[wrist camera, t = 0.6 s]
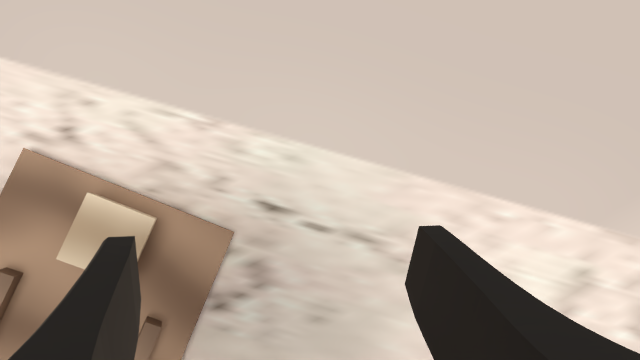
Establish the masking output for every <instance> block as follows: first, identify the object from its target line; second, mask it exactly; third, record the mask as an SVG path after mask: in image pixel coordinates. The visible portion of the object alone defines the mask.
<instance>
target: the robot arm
mask: <svg viewBox="0 0 640 360" xmlns="http://www.w3.org/2000/svg"><path fill="white" fill-rule="evenodd" d="M405 286H406V289H407V293H408V297H409V300H410V303H411V307H412V310H413V313H414V316H415V319H416V321H417V323H418V326H419V328H420V330H421V332H422V335H423V337H424V339H425V341H426V343H427V346H428V348H429V350H430V352H431V354H432V356H433V359H434V360H640V354H639V353H637V352H634V351H632V350H630V349H628V348H626V347H623V346H621V345H619V344H617V343H615V342H613V341H611V340H609V339H607V338H605V337H603V336H601V335H599V334H597V333H595V332H593V331H591V330H589V329H587V328H585V327H583V326H582V325H580V324H578V323H576V322H574V321H573V320H571V319H569V318H568V317H566V316H564V315H563V314H561V313H559V312H558V311H556V310H554V309H553V308H551V307H549V306H548V305H546V304H545V303H543V302H541V301H540V300H538V299H537V298H535V297H534V296H532V295H531V294H530V293H528V292H527V291H525V290H524V289H522V288H521V287H520V286H518V285H517V284H515V283H514V282H513V281H511V280H510V279H509V278H507V277H506V276H504V275H503V274H502V273H501V272H499V271H498V270H497V269H495V268H494V267H493V266H491V265H490V264H489V263H488V262H486V261H485V260H484V259H483V258H481V257H480V256H479V255H478V254H476V253H475V252H474V251H473V250H471V249H470V248H469V247H468V246H466V245H465V244H464V243H463V242H461V241H460V240H459V239H458V238H456V237H455V236H454V235H453V234H451V233H450V232H449V231H447V230H446V229H445V228H443V227H442V226H419V229H418V233H417V237H416V241H415V245H414V249H413V253H412V257H411V261H410V265H409V269H408V273H407V277H406V281H405ZM140 310H141V291H140V282H139V272H138V262H137V252H136V242H135V236H122V237H107V238H106V239H105V240H104V241H103V242H102V244H101V246H100V247H99V249H98V250H97V252H96V254H95V255H94V257H93V258H92V260H91V261H90V263H89V264H88V266H87V267H86V269H85V270H84V271H83V273H82V274H81V276H80V277H79V278H78V280H77V281H76V282H75V284H74V285H73V286H72V288H71V289H70V290H69V292H68V293H67V294H66V296H65V297H64V298H63V299H62V301H61V302H60V303H59V304H58V306H57V307H56V308H55V309H54V310H53V311H52V313H51V314H50V315H49V316H48V317H47V318H46V320H45V321H44V322H43V323H42V324H41V325H40V327H39V328H38V329H37V330H36V331H35V332H34V333H33V334H32V335H31V336H30V338H29V339H28V340H27V341H26V342H25V343H24V344H23V345H22V346H21V347H20V348H19V349H18V350H17V351H16V352H15V353H14V354H13V355H12V356H11V357H10V358H9V359H8V360H134V358H135V353H136V348H137V342H138V336H139V324H140Z"/></svg>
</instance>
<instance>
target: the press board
mask: <svg viewBox="0 0 640 360" xmlns="http://www.w3.org/2000/svg"><path fill="white" fill-rule="evenodd" d="M87 192H88V193H93V194H97V195H100V196H102V197H105V198H107V199H110V200H112V201H115V202H117V203H120V204H123V205H125V206H128V207H130V208H133V209H135V210H138V211H140V212H143V213H145V214H148V215H151V216H153V217H156V218H157V219H156V222H155V224H154V226H153V228H152V231H151V233H150V235H149V237H148V240H147V242H146V244H145V246H144V249H143V251H142V253H141V255H140V258H139V260H138V272H139V282H140V291H141V310H140V324H139V336H138V342H137V348H136V353H135V358H134V360H181V358H182V356H183V353H184V351H185V349H186V346H187V344H188V342H189V339H190V337H191V334H192V332H193V330H194V327H195V325H196V322H197V320H198V318H199V315H200V313H201V310H202V308H203V306H204V303H205V301H206V298H207V296H208V294H209V291H210V289H211V287H212V284H213V282H214V279H215V277H216V275H217V272H218V270H219V267H220V265H221V263H222V260H223V258H224V255H225V253H226V251H227V248H228V246H229V244H230V241H231V239H232V236H233V234H234V232H232V231H230V230H227V229H225V228H222V227H220V226H217V225H215V224H212V223H210V222H207V221H205V220H202V219H200V218H197V217H195V216H192V215H190V214H187V213H185V212H182V211H180V210H177V209H175V208H172V207H170V206H167V205H165V204H162V203H160V202H157V201H155V200H152V199H150V198H147V197H145V196H142V195H140V194H137V193H135V192H132V191H130V190H127V189H125V188H122V187H120V186H117V185H115V184H112V183H110V182H107V181H105V180H102V179H100V178H97V177H95V176H92V175H90V174H88V173H85V172H83V171H80V170H78V169H75V168H73V167H70V166H68V165H65V164H63V163H60V162H58V161H55V160H53V159H50V158H48V157H45V156H43V155H40V154H38V153H35V152H33V151H30V150H28V149H25V148H23V150H22V152H21V154H20V156H19V158H18V160H17V162H16V164H15V166H14V168H13V170H12V172H11V174H10V176H9V178H8V180H7V182H6V184H5V186H4V188H3V190H2V192H1V195H0V360H8V359H9V358H10V357H11V356H12V355H13V354H14V353H15V352H16V351H17V350H18V349H19V348H20V347H21V346H22V345H23V344H24V343H25V342H26V341H27V340H28V339H29V338H30V336H31V335H32V334H33V333H34V332H35V331H36V330H37V329H38V328H39V327H40V325H41V324H42V323H43V322H44V321H45V320H46V318H47V317H48V316H49V315H50V314H51V313H52V311H53V310H54V309H55V308H56V307H57V306H58V304H59V303H60V302H61V301H62V299H63V298H64V297H65V296H66V294H67V293H68V292H69V290H70V289H71V288H72V286H73V285H74V284H75V282H76V281H77V280H78V278H79V277H80V276H81V274H82V273H83V271H84V270H85V269H82V268H79V267H76V266H74V265H71V264H68V263H65V262H63V261H60V260H57V259H56V258H57V256H58V254H59V251H60V249H61V247H62V245H63V243H64V241H65V239H66V236H67V234H68V232H69V230H70V228H71V226H72V224H73V222H74V219H75V217H76V215H77V213H78V211H79V209H80V207H81V205H82V202H83V200H84V198H85V196H86V194H87Z"/></svg>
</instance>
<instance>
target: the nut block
mask: <svg viewBox="0 0 640 360" xmlns="http://www.w3.org/2000/svg"><path fill="white" fill-rule="evenodd" d="M156 219H157V218H156V217H153V216H151V215H148V214H145V213H143V212H140V211H138V210H135V209H133V208H130V207H128V206H125V205H123V204H120V203H117V202H115V201H112V200H110V199H107V198H105V197H102V196H100V195H97V194H93V193H88V192H87V194H86V196H85V198H84V200H83V202H82V205H81V207H80V209H79V211H78V213H77V215H76V217H75V219H74V222H73V224H72V226H71V228H70V230H69V232H68V234H67V236H66V239H65V241H64V243H63V245H62V247H61V249H60V251H59V254H58V256H57V258H56V259H57V260H60V261H63V262H65V263H68V264H71V265H74V266H76V267H79V268H82V269H86V267H87V266H88V264H89V263H90V261H91V260H92V258H93V257H94V255H95V254H96V252H97V250H98V249H99V247H100V246H101V244H102V242H103V241H104V240H105V239H106V238H107V237H122V236H135V242H136V252H137V262H138V260H139V258H140V255H141V253H142V251H143V249H144V246H145V244H146V242H147V240H148V237H149V235H150V233H151V231H152V228H153V226H154V224H155V222H156Z"/></svg>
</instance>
